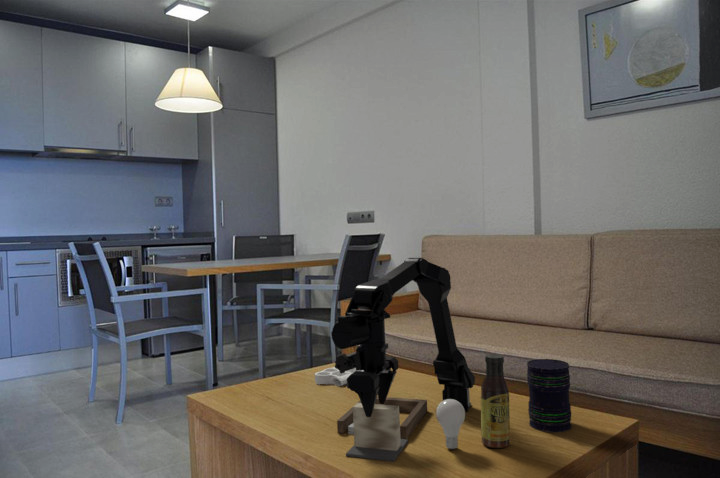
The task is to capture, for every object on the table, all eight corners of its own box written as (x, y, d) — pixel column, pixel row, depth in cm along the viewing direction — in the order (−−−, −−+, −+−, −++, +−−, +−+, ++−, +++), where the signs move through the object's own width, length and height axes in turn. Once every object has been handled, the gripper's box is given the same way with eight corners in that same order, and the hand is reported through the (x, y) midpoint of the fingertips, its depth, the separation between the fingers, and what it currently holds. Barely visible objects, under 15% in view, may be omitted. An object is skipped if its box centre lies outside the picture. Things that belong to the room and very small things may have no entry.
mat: (408, 441, 128) (407, 439, 128) (394, 461, 118) (394, 458, 118) (363, 437, 132) (363, 435, 132) (346, 456, 122) (345, 453, 122)
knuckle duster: (333, 390, 173) (307, 382, 185) (376, 378, 185) (349, 371, 196) (332, 380, 173) (306, 371, 185) (376, 368, 185) (349, 361, 196)
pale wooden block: (400, 445, 125) (399, 405, 124) (397, 450, 122) (395, 410, 122) (359, 441, 128) (357, 402, 128) (354, 446, 125) (352, 406, 125)
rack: (427, 411, 149) (426, 399, 149) (406, 439, 130) (406, 426, 130) (366, 406, 155) (365, 395, 155) (337, 432, 136) (337, 420, 136)
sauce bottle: (493, 452, 120) (489, 360, 120) (475, 442, 126) (472, 355, 126) (517, 446, 123) (513, 356, 123) (499, 436, 129) (496, 351, 128)
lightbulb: (471, 452, 121) (469, 401, 121) (445, 456, 119) (443, 405, 119) (458, 441, 127) (456, 393, 127) (433, 445, 125) (430, 397, 125)
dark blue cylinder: (553, 435, 128) (550, 371, 128) (520, 424, 136) (517, 363, 136) (580, 426, 133) (578, 364, 133) (547, 415, 142) (545, 357, 141)
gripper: (354, 332, 136) (356, 395, 136) (322, 348, 118) (325, 421, 119) (397, 333, 132) (400, 398, 132) (371, 350, 115) (375, 425, 115)
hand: (375, 410), depth 125 cm, fingers open, 9 cm apart
